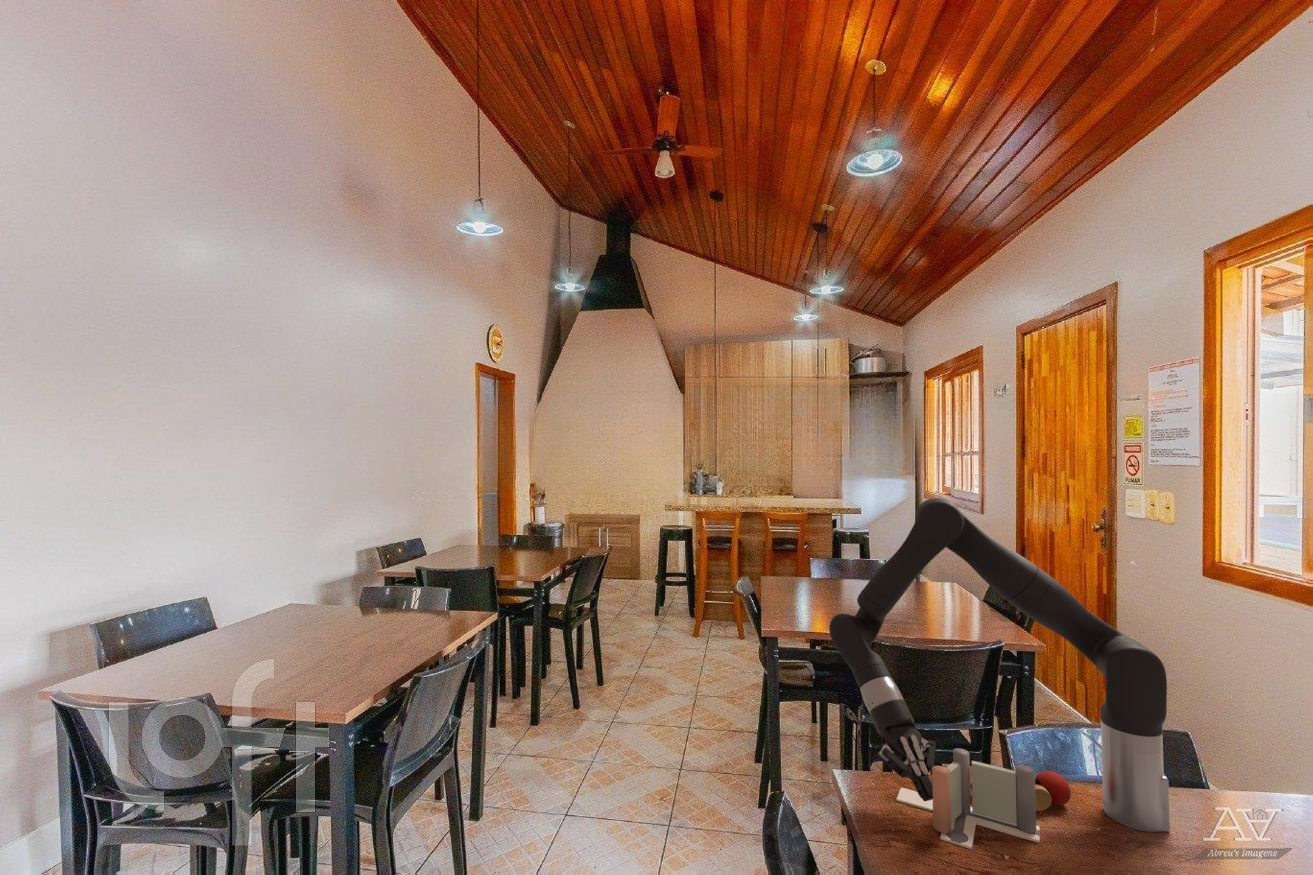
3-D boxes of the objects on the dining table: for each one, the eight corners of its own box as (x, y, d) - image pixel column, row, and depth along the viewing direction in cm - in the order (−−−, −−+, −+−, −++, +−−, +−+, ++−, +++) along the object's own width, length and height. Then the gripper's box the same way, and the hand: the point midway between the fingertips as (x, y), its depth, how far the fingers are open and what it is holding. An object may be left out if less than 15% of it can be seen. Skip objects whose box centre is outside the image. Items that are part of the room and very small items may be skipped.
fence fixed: (1036, 827, 109) (1034, 765, 109) (1036, 836, 106) (1034, 772, 107) (955, 804, 116) (954, 746, 116) (953, 812, 113) (952, 753, 114)
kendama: (986, 819, 114) (1084, 811, 113) (978, 783, 116) (1074, 775, 114) (970, 803, 122) (1062, 796, 120) (963, 770, 123) (1053, 762, 122)
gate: (950, 809, 114) (949, 754, 114) (966, 816, 112) (965, 759, 112) (930, 827, 108) (929, 769, 108) (947, 835, 106) (946, 775, 106)
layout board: (1039, 828, 109) (1039, 825, 109) (1040, 870, 98) (1040, 867, 98) (901, 789, 122) (901, 786, 122) (887, 822, 111) (887, 820, 111)
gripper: (868, 701, 117) (912, 799, 105) (921, 694, 121) (969, 787, 110) (850, 716, 122) (890, 811, 110) (902, 709, 126) (946, 799, 114)
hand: (930, 799), depth 110 cm, fingers closed
